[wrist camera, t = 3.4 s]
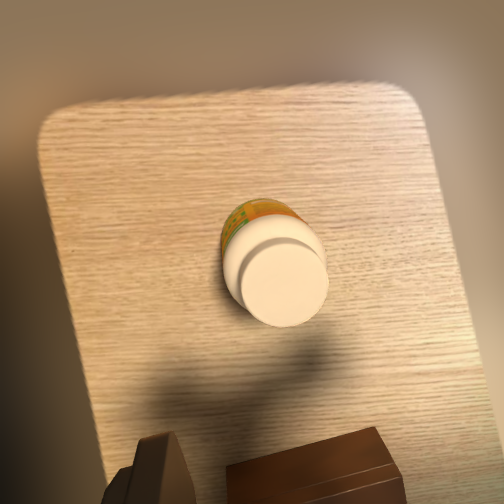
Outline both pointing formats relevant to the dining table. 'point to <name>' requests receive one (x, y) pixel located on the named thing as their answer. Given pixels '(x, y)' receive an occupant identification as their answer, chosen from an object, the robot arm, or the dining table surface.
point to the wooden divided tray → (321, 474)
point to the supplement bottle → (274, 263)
